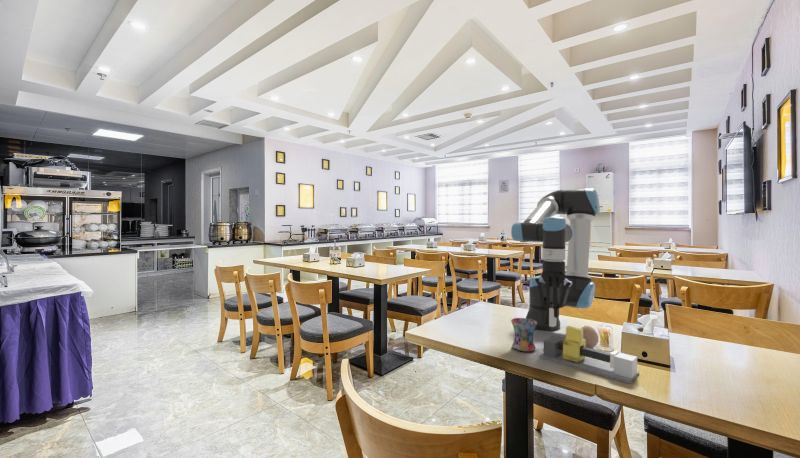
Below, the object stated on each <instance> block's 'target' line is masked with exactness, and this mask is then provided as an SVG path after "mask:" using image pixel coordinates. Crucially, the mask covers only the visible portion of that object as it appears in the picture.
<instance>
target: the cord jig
mask: <svg viewBox="0 0 800 458" xmlns="http://www.w3.org/2000/svg"><path fill="white" fill-rule="evenodd" d="M564 339H566V337H561V336H556V335H552V336H550V337H548V338H545V340H543V352H542V353H541V354H539V355H538V356H539V358H541V359H543V360H547V361H551V362H554V363H557V364H560V365H565V366H567V367H571V368H574V369H578V370H581V371H585V372H588V373H591V374H595V375H598V376H602V377H606V378H608V379H613V380H616V381H620V382H622V383H626V384H631V383H632V382H633V381H634V380H635V379H636V378H637V377H638V376H639V375H640V371H638V356H636V355H631V354H627V353H624V352H621V351H619V350H617V349H616V350H615V349H614V350H613V351H611V352H607V351H604V350H599V349H596V348H588V347H584V346H581V347H580V355H582V356H585V358H584V359H583V360H581V361H580V362H574V361H571V360H567V359H563V340H564Z"/></svg>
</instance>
